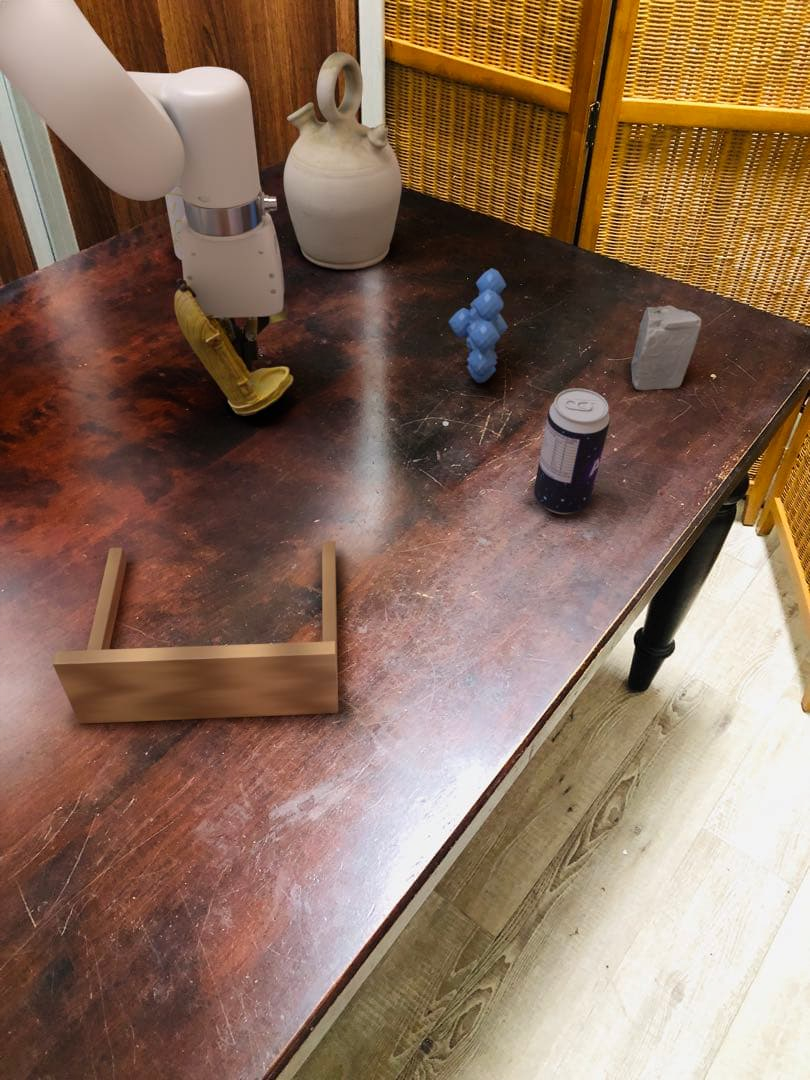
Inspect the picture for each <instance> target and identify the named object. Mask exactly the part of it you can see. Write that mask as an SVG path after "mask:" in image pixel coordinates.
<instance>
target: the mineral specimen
mask: <svg viewBox="0 0 810 1080" xmlns="http://www.w3.org/2000/svg"><path fill="white" fill-rule="evenodd" d="M644 309H645V310H644V313H643V317H642V319H641V321H640V325H639V329H638V334H637V338H636V339H637V340H636V342H635V343H636V344H635V349H634V352H633V356H632V357H633V358H632V361H631V364H630V365H631V367H630V368H631V380H632V381H631V383H632V386H633V388H634V389H635V390H636V391H652V390H658V391H660V390H663V389H669V390H671V389H677V388H680V387H681V386H682V383H683V381H684V378H685V375H686V373H687V370H688V367H689V364H690V361H691V360H692V357H693V353H694V350H695V348H696V345H697V340H698V338H699V336H698V335H699V334H700V330H701V328H702V321H703V317H700V316H699V315H698V314H696V313H693V312H692V311H691V310H689V311H687V310H685V309H679V308H676V307H675V306H673V305H669V304H668V305H665V306H662V305H658V306H657V307H654V306H648V307H646V308H644Z"/></svg>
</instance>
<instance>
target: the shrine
mask: <svg viewBox="0 0 810 1080" xmlns="http://www.w3.org/2000/svg"><path fill="white" fill-rule="evenodd" d="M176 284H177V287H178V289H177V290H176V292H175V294H174V302H173V303H174V313H175V317H176V319H177V323H178V326H179V328H180V330H181V332H182V334H183V336H184V337H185V340H186V341H187V343H189V346H190V347H191V349H192V350H193V352H194V353H195V355H196V356H197V357H198V359H199V360H200V362H201V364H202V365H203V366H204V368H205V369H206V371H207V372H208V373H209V375H210V376H211V377H212V378H213V380H214V381H215V383H216V384H217V386H218V387H219V388H220V390H221V391H222V393H223V394H224V395H225V396H226V397H225V398H227V403H228V404H229V406H230V408H231V409H232V411H233V412H234V413H235V414H236V415H238V416H242V417H246V416H251V415H256V414H257V413H259V412H261V411H263V410H265V409H266V408H267V409H268V408H269V407H270V406H272V405H274V404H275V403H276V402H278V401H279V400H280V399H281V398H282V397H283V396H284V394H285V393H286V392H287V391H288V390H289V388H290V387H291V386H292V385H293V383H294V376H293V375H292V374H290V371H291V370H290V367H288V366H284V365H282V366H281V365H280V366H275V367H261V368H259V369H256V370H254V371H248V370H247V368H246V365H245V364H244V363H243V361H242V359H241V358H240V357H239V356H238V354H237V353H236V351H235V349H234V348H233V345H232V344H231V342H230V341H229V339H228V337H227V336H226V334H225V332H224V331H223V329H222V328H221V327H220V325H219V322H218V321H217V320H216V318H212V316H213V315H209V316H205V314H203V312H202V310H201V309H200V307H199V306H198V304H197V303H196V301H195V299H194V298H193V297H196V294H195V293H194V291H193V289H192V288H191V286H190V285H187V283H186V281H185V280H184V278H182V277H180V278H177V279H176Z"/></svg>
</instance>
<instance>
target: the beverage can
mask: <svg viewBox="0 0 810 1080" xmlns="http://www.w3.org/2000/svg"><path fill="white" fill-rule="evenodd" d="M609 409H610V408H609V404H608V401H607V400H606V399H605V398H604V397H603V396H602V395H601V394H599V393H597V392H595V391H593V390H590V389H587V388H579V387H578V388H575V387H574V388H569V389H565V390H562V391H561V392H559V393H558V394H557V395H556V396H555V398H554V401H553V402H552V403H551V404H550V406H549V408H548V411H547V417H546V421H545V427H544V432H543V438H542V444H541V448H540V449H541V450H540V453H539V454H540V455H539V459H538V466H537V471H536V475H535V481H534V487H533V494H534V498H535V499H536V500H537V501H538V503H540V505H542V506H543V507H544V508H545V509H546V510H548V511H550V512H552V513H554V514H557V515H558V514H559V515H569V514H570V515H571V514H573V513H577V512H580V511H582V510H583V509H586V507H587V506H588V505H590V502H591V500H592V494H593V493H594V488H595V484H596V480H597V475H598V473H599V468H600V463H601V460H602V456H603V452H604V448H605V444H606V440H607V436H608V431H609V427H610V423H611V416H610V413H609Z"/></svg>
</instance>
